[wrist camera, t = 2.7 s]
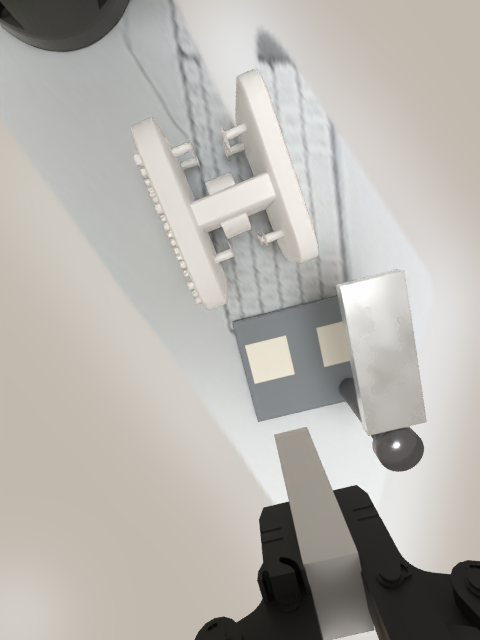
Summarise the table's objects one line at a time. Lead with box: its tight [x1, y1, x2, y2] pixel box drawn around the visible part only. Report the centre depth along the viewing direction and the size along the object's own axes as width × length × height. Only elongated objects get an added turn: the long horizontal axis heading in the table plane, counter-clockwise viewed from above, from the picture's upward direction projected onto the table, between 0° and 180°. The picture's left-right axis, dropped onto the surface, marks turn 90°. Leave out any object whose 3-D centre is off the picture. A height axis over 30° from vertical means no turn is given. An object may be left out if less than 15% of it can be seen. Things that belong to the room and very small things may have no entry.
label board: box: [233, 296, 376, 439], centre depth 34 cm, size 12×14×12 cm
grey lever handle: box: [336, 270, 426, 472], centre depth 27 cm, size 16×5×1 cm, turn 14°
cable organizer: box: [131, 69, 318, 310], centre depth 31 cm, size 15×11×12 cm
